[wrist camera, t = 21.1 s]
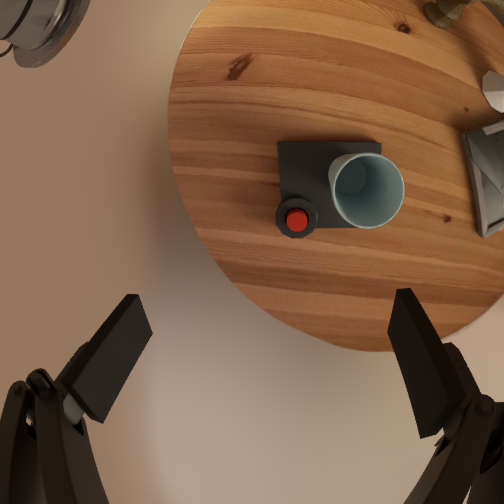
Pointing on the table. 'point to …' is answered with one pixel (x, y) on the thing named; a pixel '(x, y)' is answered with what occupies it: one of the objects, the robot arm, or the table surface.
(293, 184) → the scale
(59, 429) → the robot arm
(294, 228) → the button
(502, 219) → the picture frame
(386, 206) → the cup
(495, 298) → the table surface
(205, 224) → the table surface
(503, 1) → the kendama
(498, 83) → the flask
